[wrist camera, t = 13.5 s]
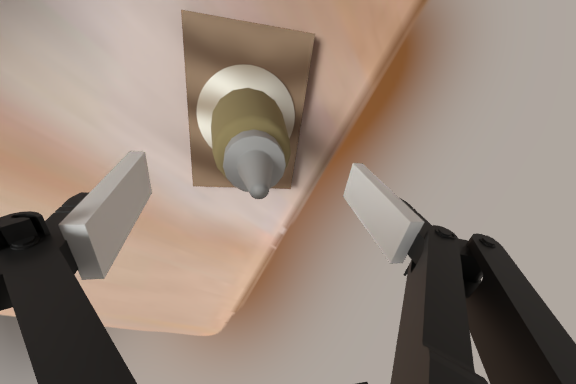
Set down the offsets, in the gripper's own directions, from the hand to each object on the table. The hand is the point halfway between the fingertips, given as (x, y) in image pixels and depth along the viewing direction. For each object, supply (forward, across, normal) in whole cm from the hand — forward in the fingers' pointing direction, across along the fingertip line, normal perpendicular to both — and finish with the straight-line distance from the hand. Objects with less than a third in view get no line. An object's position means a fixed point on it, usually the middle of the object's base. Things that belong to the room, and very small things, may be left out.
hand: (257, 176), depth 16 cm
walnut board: (+18, 0, -1) cm, 19 cm away
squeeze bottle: (+17, 0, -1) cm, 17 cm away
